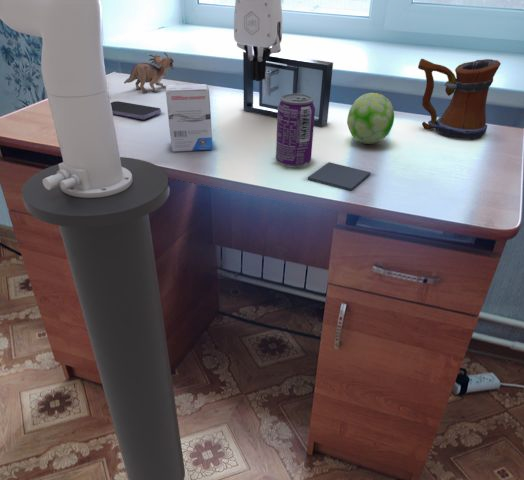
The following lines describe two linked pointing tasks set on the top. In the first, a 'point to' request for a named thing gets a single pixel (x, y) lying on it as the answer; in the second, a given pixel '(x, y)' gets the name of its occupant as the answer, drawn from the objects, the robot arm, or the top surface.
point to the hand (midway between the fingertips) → (258, 79)
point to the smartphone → (134, 110)
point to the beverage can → (295, 129)
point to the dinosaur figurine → (151, 72)
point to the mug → (461, 98)
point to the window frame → (309, 83)
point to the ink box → (189, 117)
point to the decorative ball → (370, 118)
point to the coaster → (339, 176)
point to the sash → (277, 84)
